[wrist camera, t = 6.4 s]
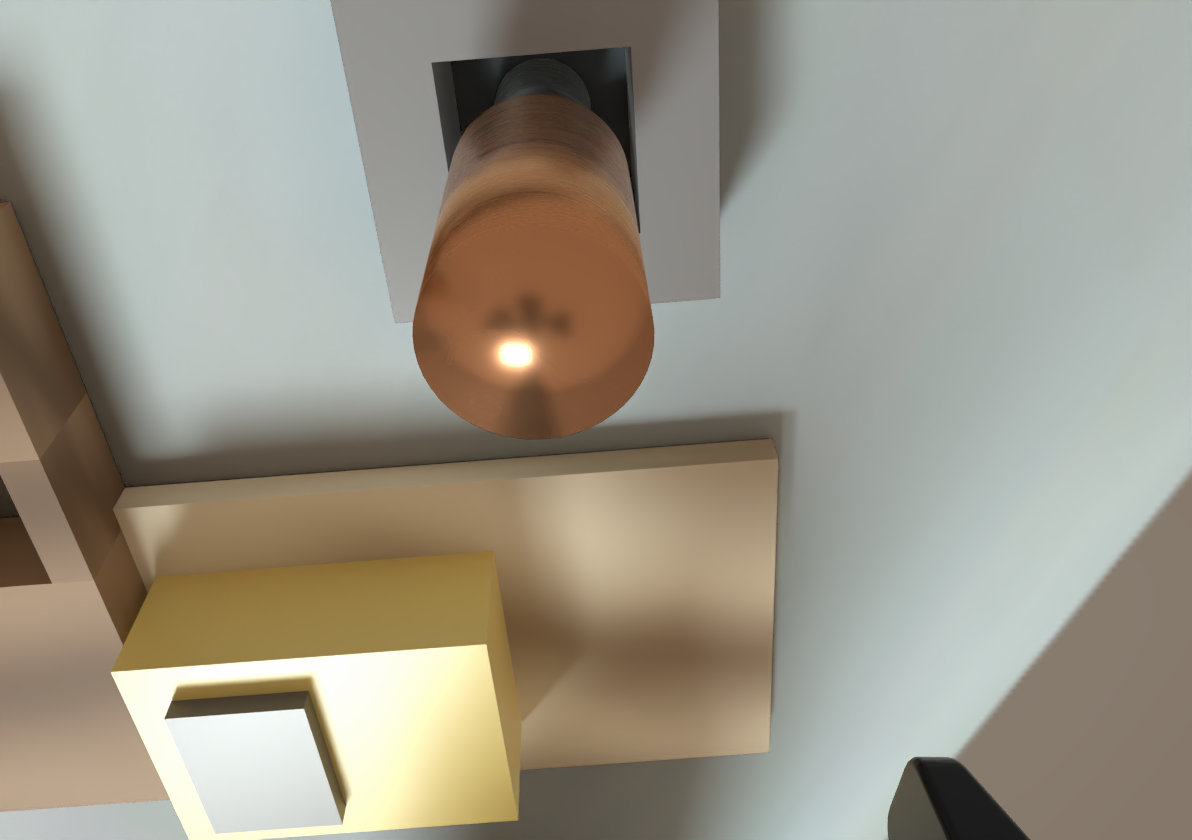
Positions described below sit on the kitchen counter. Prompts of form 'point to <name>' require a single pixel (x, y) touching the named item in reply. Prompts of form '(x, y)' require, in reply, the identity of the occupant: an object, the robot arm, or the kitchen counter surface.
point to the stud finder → (328, 697)
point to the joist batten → (59, 570)
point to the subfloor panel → (544, 577)
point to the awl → (536, 266)
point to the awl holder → (524, 27)
